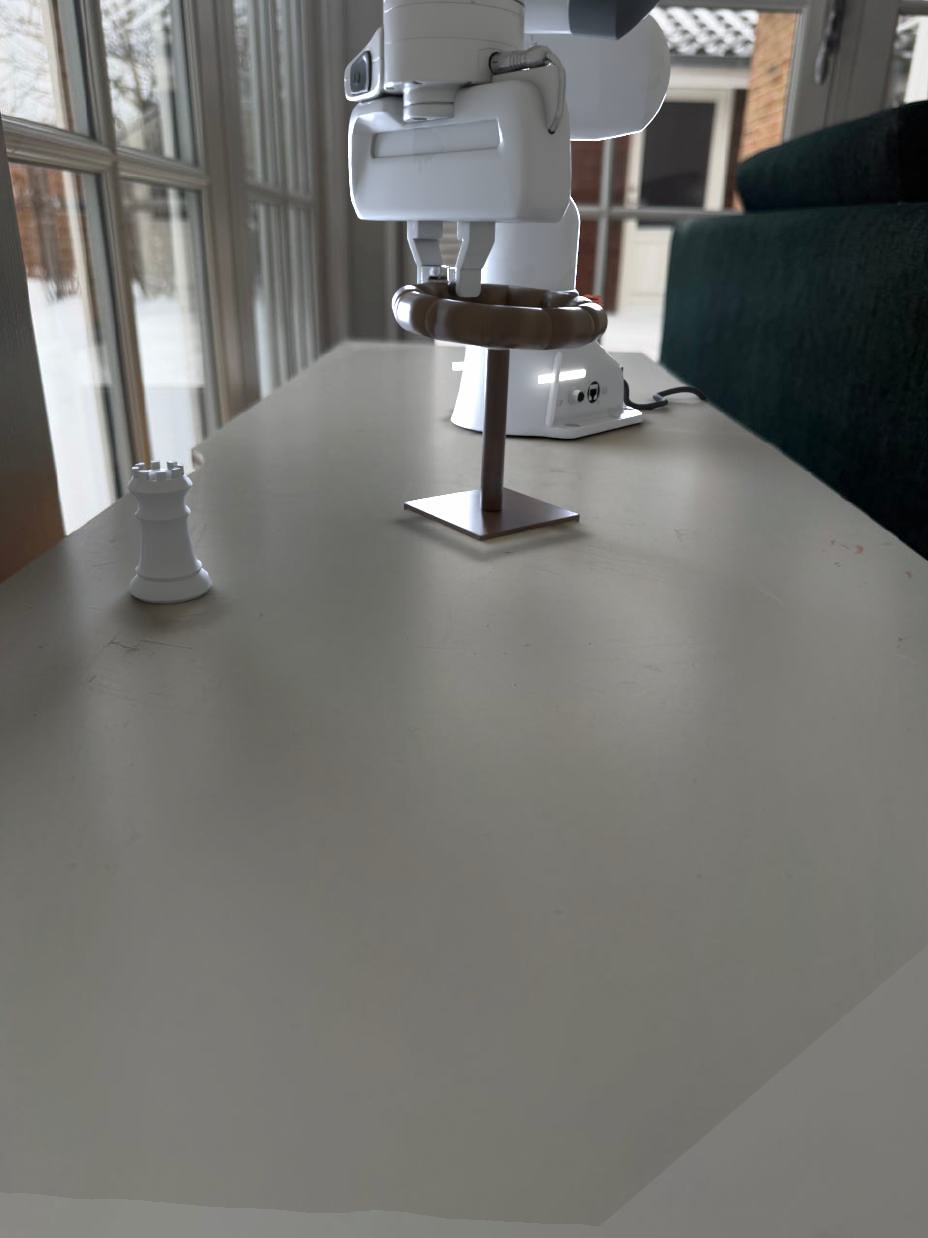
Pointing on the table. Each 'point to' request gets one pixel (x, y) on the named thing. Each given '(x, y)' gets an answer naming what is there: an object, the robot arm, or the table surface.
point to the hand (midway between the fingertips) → (448, 294)
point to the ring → (500, 316)
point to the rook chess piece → (165, 537)
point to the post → (492, 476)
